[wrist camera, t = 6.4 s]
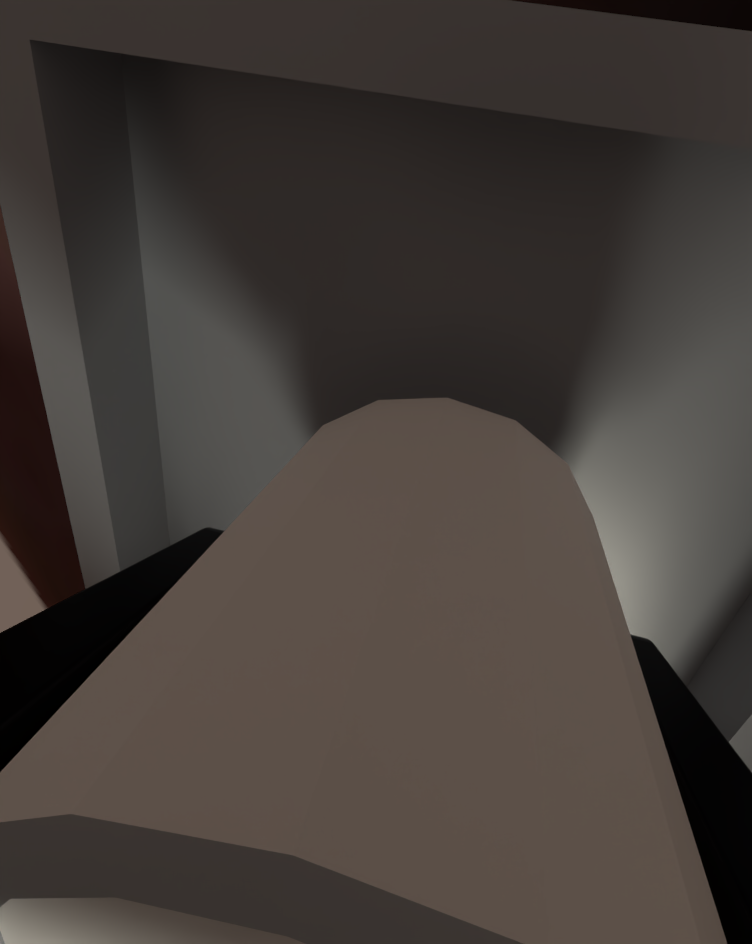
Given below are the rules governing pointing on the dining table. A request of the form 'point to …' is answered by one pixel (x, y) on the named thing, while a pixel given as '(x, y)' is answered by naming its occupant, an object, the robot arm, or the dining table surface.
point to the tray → (395, 266)
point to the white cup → (368, 723)
